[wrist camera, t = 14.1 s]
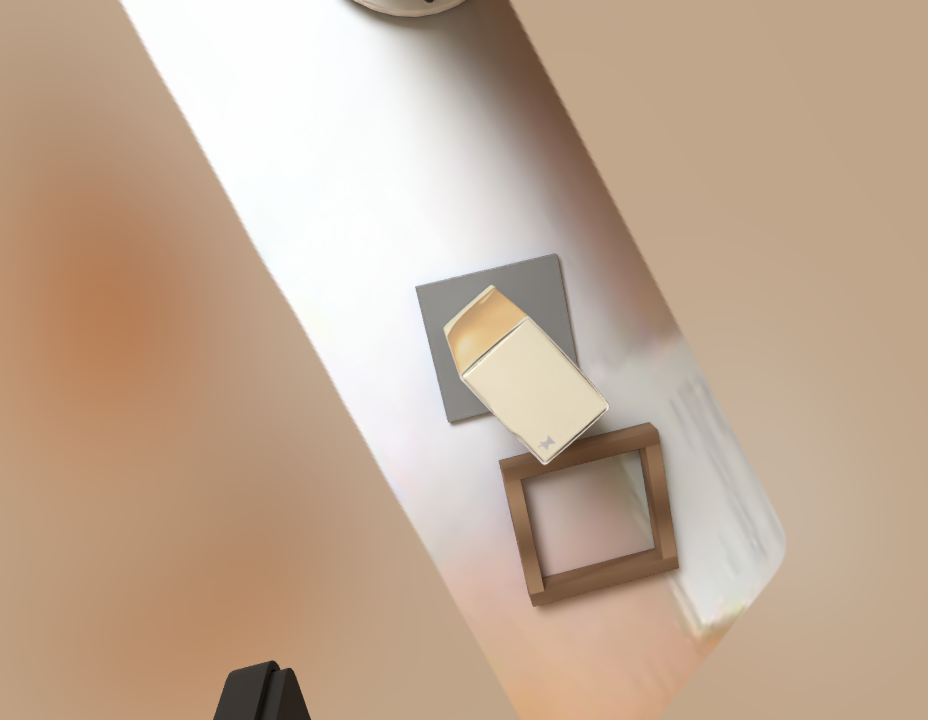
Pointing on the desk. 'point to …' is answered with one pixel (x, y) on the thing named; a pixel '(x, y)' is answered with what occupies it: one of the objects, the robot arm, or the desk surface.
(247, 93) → the desk surface
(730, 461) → the desk surface
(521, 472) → the square wooden frame
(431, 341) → the rubber mat
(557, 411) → the skincare box
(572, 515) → the desk surface
